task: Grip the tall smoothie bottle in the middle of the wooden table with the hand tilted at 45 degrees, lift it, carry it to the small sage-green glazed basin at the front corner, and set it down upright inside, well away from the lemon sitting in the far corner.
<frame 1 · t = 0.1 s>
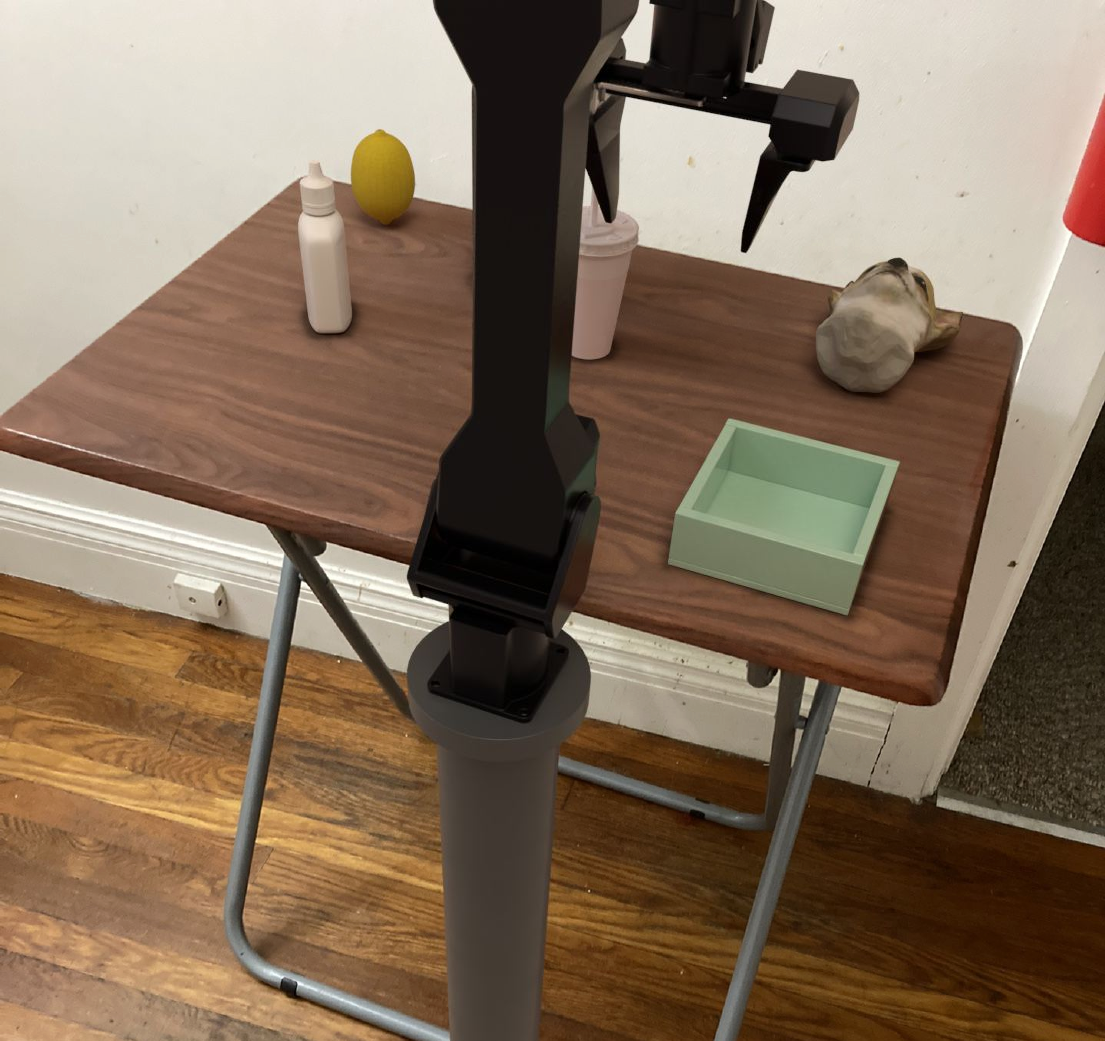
hand: (677, 235, 75), 13 cm above the table, tool pointing down, fingers open, 9 cm apart
basin: (779, 537, 76), on the table
lemon: (385, 226, 104), on the table
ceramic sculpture: (871, 364, 92), on the table
smoothie: (587, 349, 91), on the table
eye dropper bottle: (330, 320, 93), on the table
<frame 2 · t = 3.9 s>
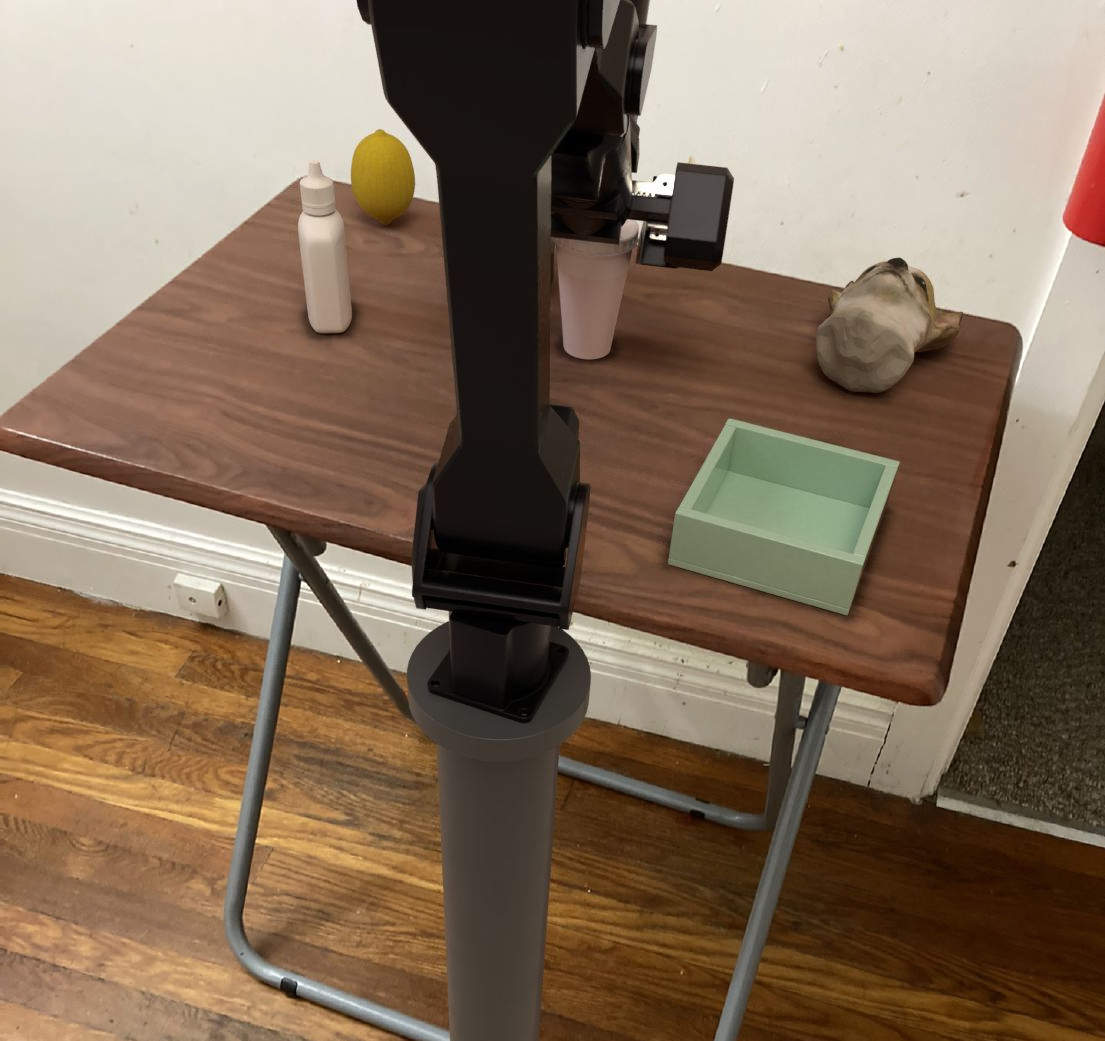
hand: (596, 251, 87), 7 cm above the table, tool tilted 45°, fingers closed on smoothie, 6 cm apart
smoothie: (586, 349, 91), on the table, touching gripper
everything else where it was.
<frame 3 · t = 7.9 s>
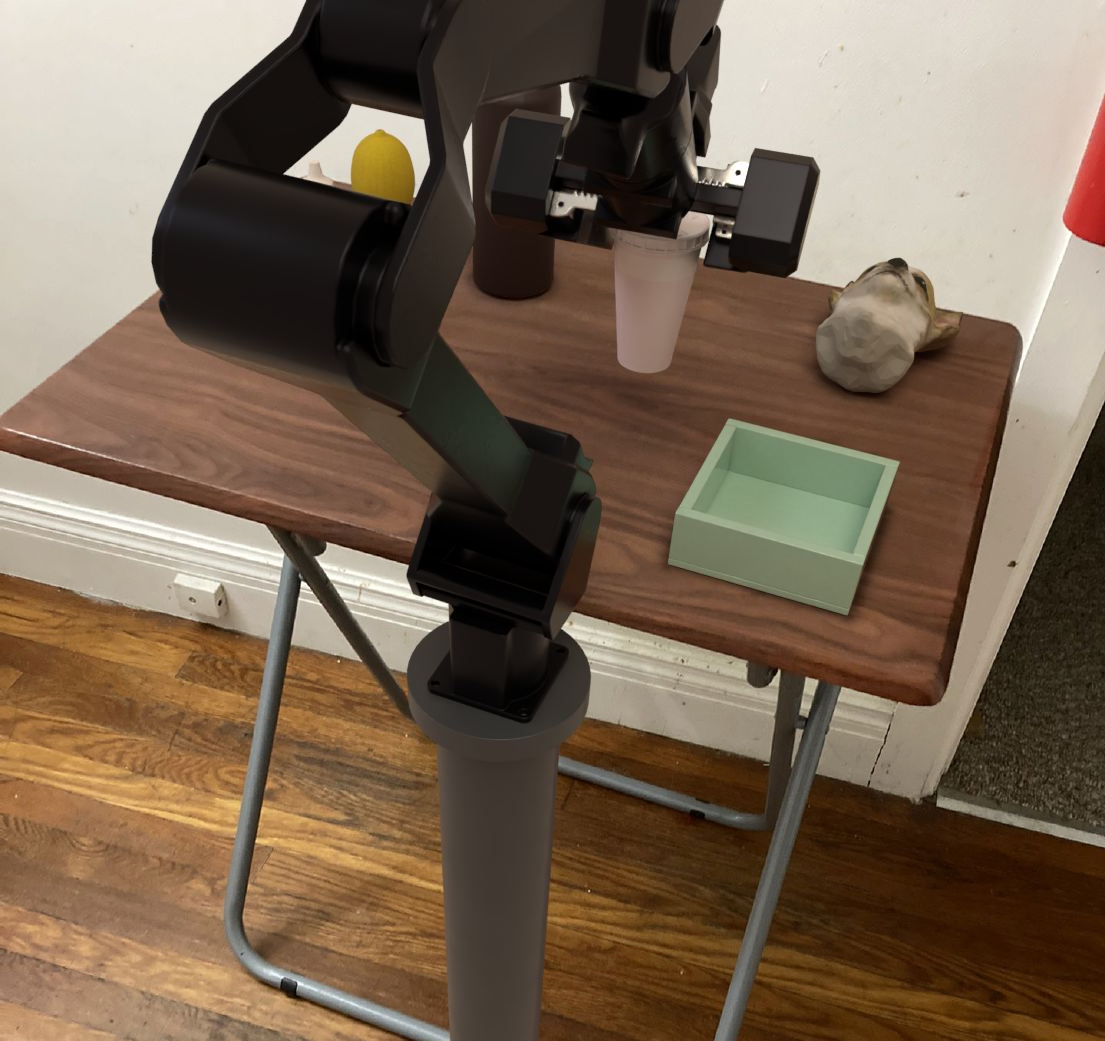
hand: (661, 251, 76), 12 cm above the table, tool tilted 45°, fingers closed on smoothie, 6 cm apart
smoothie: (643, 361, 80), point 5 cm above the table, touching gripper
everything else where it was.
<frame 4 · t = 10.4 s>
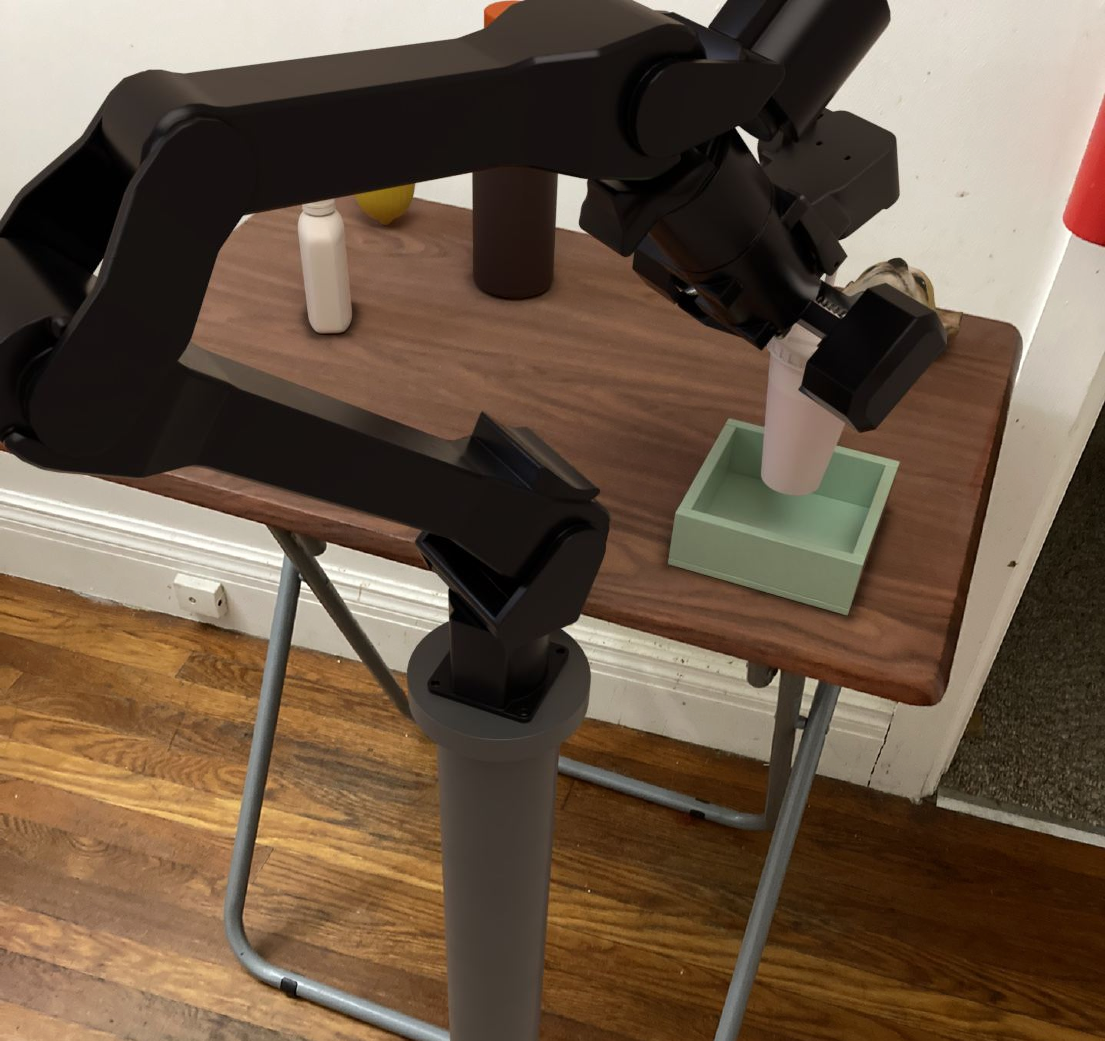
hand: (832, 370, 68), 12 cm above the table, tool tilted 45°, fingers closed on smoothie, 6 cm apart
smoothie: (789, 480, 73), point 4 cm above the table, touching gripper
everything else where it was.
when the fingers open (8 cm above the table, at t = 12.1 s): smoothie stays where it is, resting on basin.
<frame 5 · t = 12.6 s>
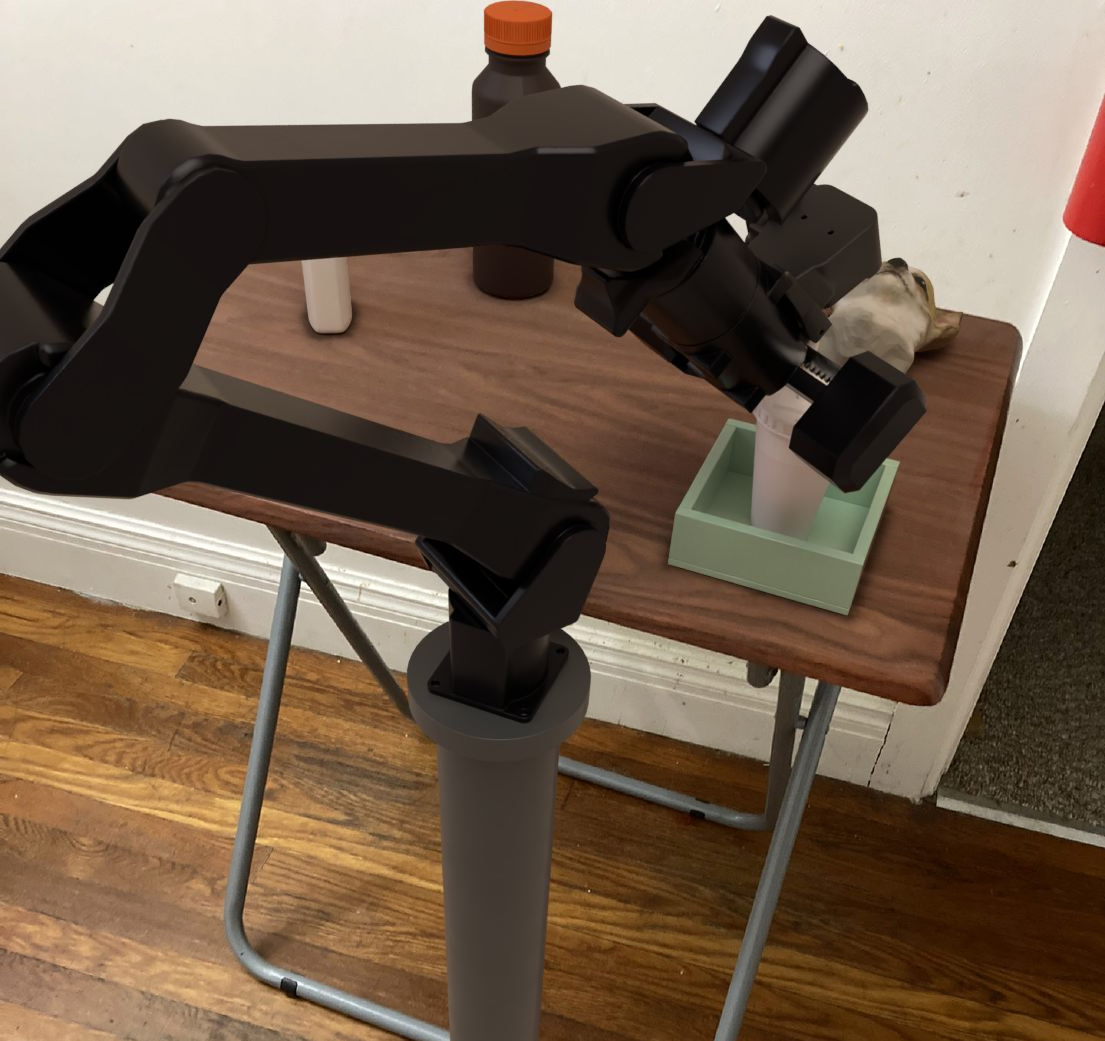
hand: (821, 423, 71), 8 cm above the table, tool tilted 45°, fingers open, 9 cm apart
smoothie: (778, 533, 76), resting on basin
everything else where it was.
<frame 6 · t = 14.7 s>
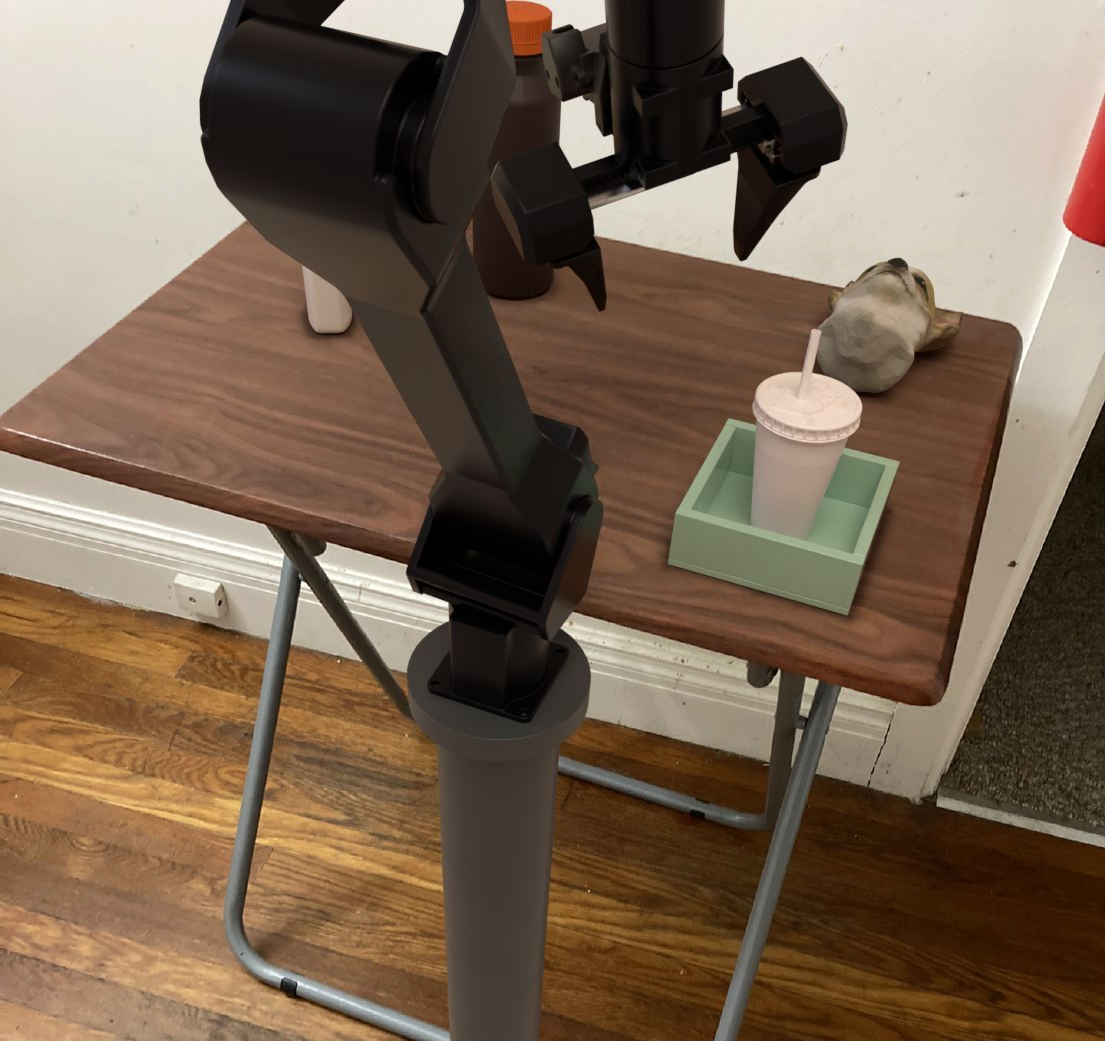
hand: (670, 281, 71), 13 cm above the table, tool tilted 20°, fingers open, 9 cm apart
nothing on the table moved.
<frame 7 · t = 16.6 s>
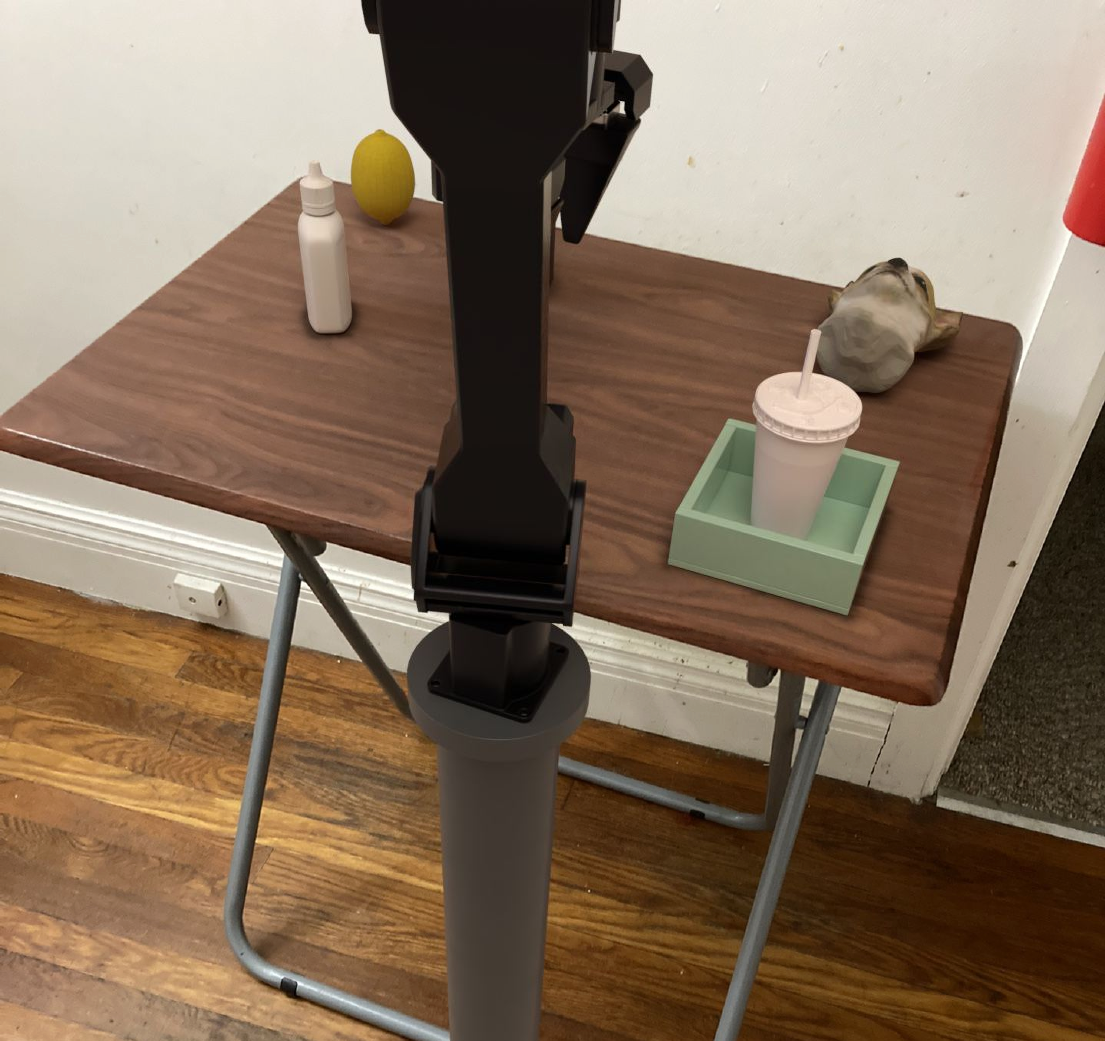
hand: (544, 272, 72), 13 cm above the table, tool pointing down, fingers open, 9 cm apart
nothing on the table moved.
at the end: smoothie inside the target area in the basin (0.1 cm from its centre), point 0.3 cm above the basin's base; smoothie tilted 0°; smoothie touching basin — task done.
